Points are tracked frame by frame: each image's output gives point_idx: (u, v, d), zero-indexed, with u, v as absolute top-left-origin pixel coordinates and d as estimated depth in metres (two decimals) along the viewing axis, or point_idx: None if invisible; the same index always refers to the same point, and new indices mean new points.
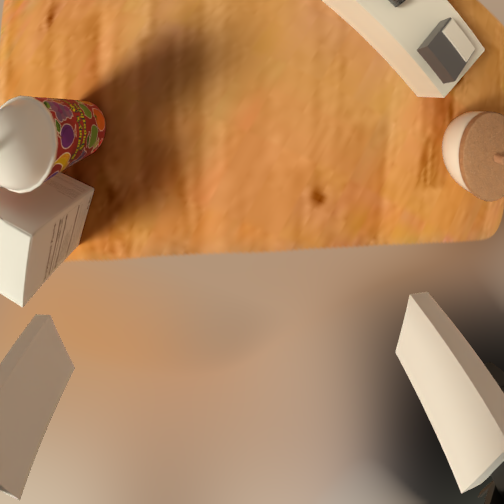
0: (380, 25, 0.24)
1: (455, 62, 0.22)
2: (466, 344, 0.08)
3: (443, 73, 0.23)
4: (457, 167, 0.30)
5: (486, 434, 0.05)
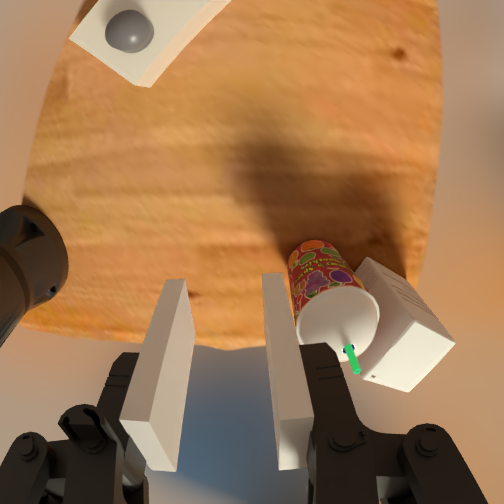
0: None
1: None
2: (292, 320, 0.10)
3: None
4: None
5: (276, 407, 0.07)
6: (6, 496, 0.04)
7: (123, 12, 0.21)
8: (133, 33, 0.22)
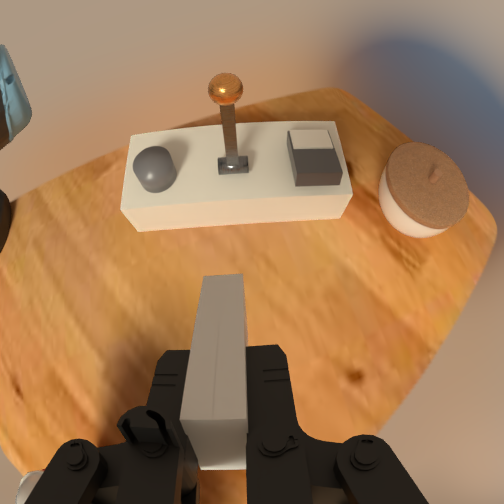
0: (254, 199, 0.32)
1: (327, 158, 0.30)
2: (244, 321, 0.10)
3: (330, 178, 0.29)
4: (420, 226, 0.30)
5: None
6: None
7: (164, 149, 0.30)
8: (151, 170, 0.30)
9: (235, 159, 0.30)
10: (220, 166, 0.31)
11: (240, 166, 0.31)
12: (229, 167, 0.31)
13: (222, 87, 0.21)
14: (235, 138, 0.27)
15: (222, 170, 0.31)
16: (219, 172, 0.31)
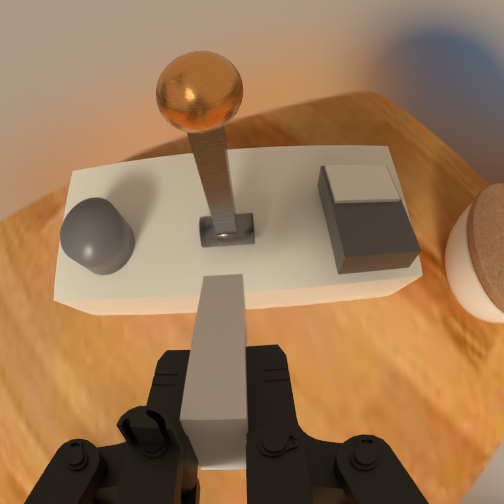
0: (264, 291, 0.19)
1: (393, 222, 0.17)
2: (243, 322, 0.10)
3: (398, 260, 0.16)
4: None
5: None
6: None
7: (108, 204, 0.17)
8: (86, 244, 0.16)
9: (230, 226, 0.17)
10: (204, 235, 0.18)
11: (240, 235, 0.18)
12: (220, 237, 0.18)
13: (185, 86, 0.08)
14: (228, 195, 0.14)
15: (208, 242, 0.18)
16: (203, 245, 0.18)
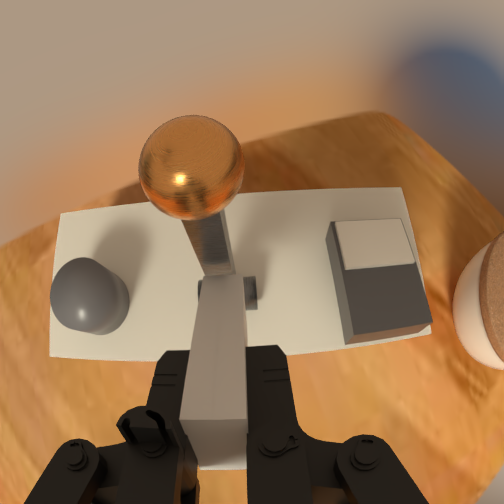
0: None
1: (406, 290, 0.15)
2: (244, 322, 0.10)
3: (408, 330, 0.15)
4: None
5: None
6: None
7: (98, 267, 0.16)
8: (78, 311, 0.15)
9: None
10: None
11: None
12: None
13: (172, 169, 0.06)
14: (229, 270, 0.12)
15: None
16: None
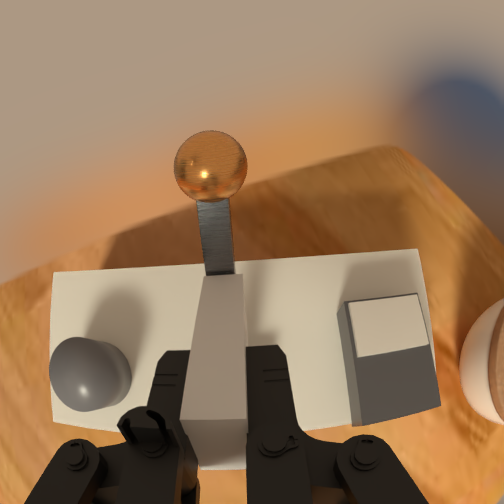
0: None
1: (417, 375, 0.14)
2: (244, 322, 0.10)
3: None
4: None
5: None
6: None
7: (96, 349, 0.14)
8: (80, 393, 0.14)
9: None
10: None
11: None
12: None
13: (199, 143, 0.10)
14: None
15: None
16: None
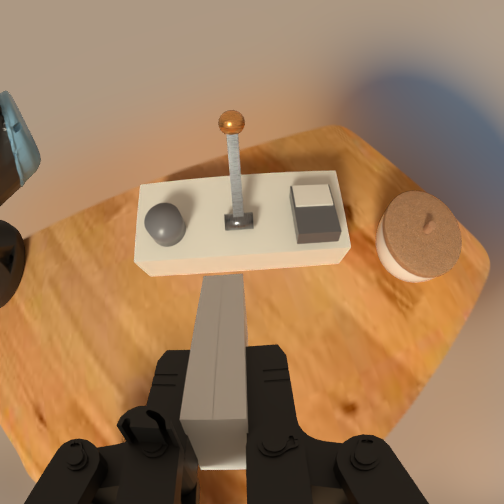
0: (258, 254, 0.35)
1: (327, 216, 0.33)
2: (244, 321, 0.10)
3: (329, 236, 0.32)
4: (412, 275, 0.33)
5: None
6: None
7: (173, 206, 0.33)
8: (162, 228, 0.33)
9: (240, 207, 0.34)
10: (226, 217, 0.34)
11: (245, 217, 0.34)
12: (235, 218, 0.34)
13: (228, 113, 0.29)
14: (239, 176, 0.32)
15: (228, 221, 0.34)
16: (225, 223, 0.34)
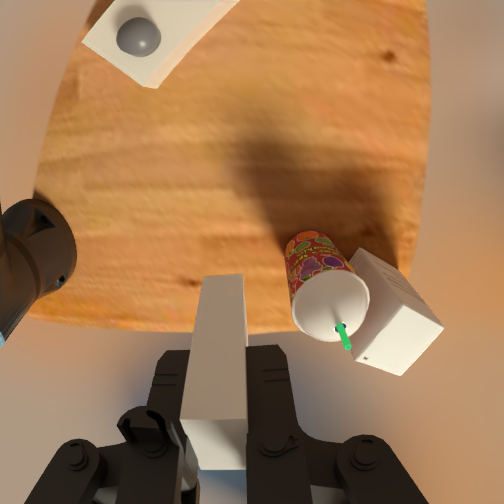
0: None
1: None
2: (244, 321, 0.10)
3: None
4: None
5: None
6: None
7: (133, 19, 0.24)
8: (142, 39, 0.25)
9: None
10: None
11: None
12: None
13: None
14: None
15: None
16: None
